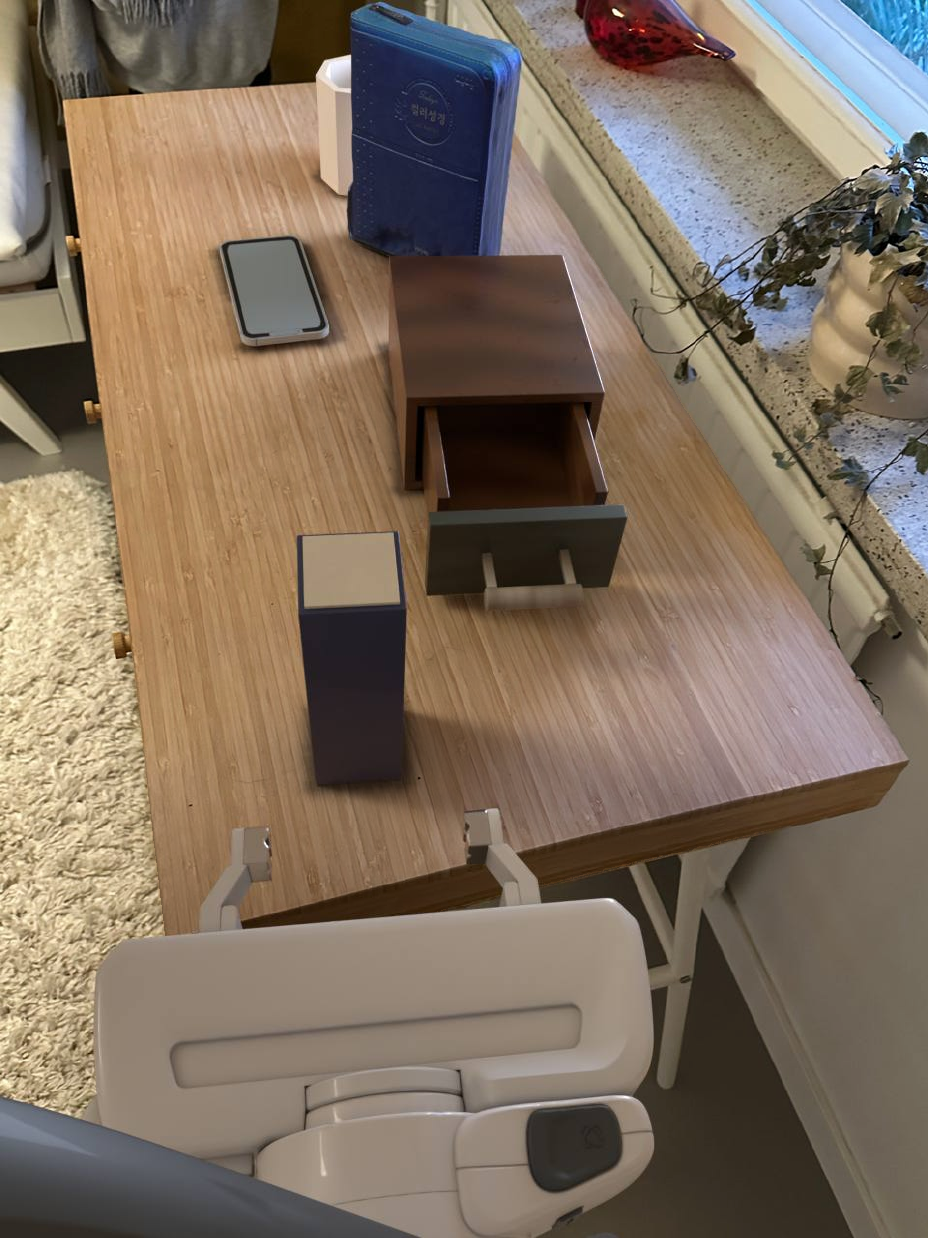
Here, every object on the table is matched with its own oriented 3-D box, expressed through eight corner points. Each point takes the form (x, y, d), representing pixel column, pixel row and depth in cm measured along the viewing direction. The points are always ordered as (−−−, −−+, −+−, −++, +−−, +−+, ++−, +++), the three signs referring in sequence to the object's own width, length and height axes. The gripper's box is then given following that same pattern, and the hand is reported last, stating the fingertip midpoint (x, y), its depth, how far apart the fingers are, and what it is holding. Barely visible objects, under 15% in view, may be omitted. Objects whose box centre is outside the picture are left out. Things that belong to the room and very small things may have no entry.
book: (340, 246, 93) (332, 9, 78) (372, 221, 96) (370, -13, 81) (475, 300, 90) (495, 62, 74) (504, 272, 93) (530, 38, 77)
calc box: (315, 785, 59) (297, 612, 46) (313, 713, 62) (296, 531, 49) (401, 779, 60) (407, 606, 47) (395, 708, 63) (398, 527, 50)
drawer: (622, 638, 66) (643, 569, 61) (432, 648, 65) (437, 579, 59) (568, 432, 78) (582, 360, 73) (407, 437, 77) (409, 364, 71)
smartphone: (299, 233, 93) (331, 330, 84) (299, 242, 94) (331, 339, 85) (217, 241, 91) (241, 340, 82) (218, 249, 92) (242, 349, 83)
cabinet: (585, 483, 76) (605, 392, 69) (404, 490, 75) (406, 397, 68) (548, 345, 86) (563, 254, 80) (388, 348, 85) (388, 255, 78)
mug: (314, 157, 103) (309, 55, 95) (398, 152, 105) (399, 52, 97) (334, 222, 96) (330, 117, 88) (423, 216, 98) (427, 112, 90)
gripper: (89, 1251, 35) (125, 876, 44) (662, 1182, 38) (591, 839, 46) (40, 1222, 30) (92, 806, 39) (704, 1145, 33) (615, 768, 41)
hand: (367, 823), depth 42 cm, fingers open, 8 cm apart
